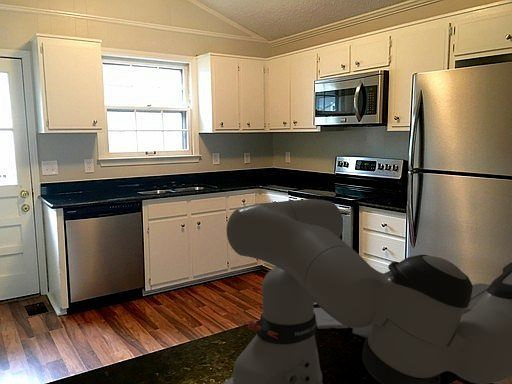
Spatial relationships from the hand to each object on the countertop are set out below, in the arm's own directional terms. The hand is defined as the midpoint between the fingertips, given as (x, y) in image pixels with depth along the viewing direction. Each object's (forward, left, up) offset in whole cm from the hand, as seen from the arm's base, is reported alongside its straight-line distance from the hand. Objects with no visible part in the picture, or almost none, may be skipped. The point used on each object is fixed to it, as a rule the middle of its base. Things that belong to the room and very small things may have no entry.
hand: (441, 294), depth 113 cm
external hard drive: (-13, +27, -12) cm, 32 cm away
